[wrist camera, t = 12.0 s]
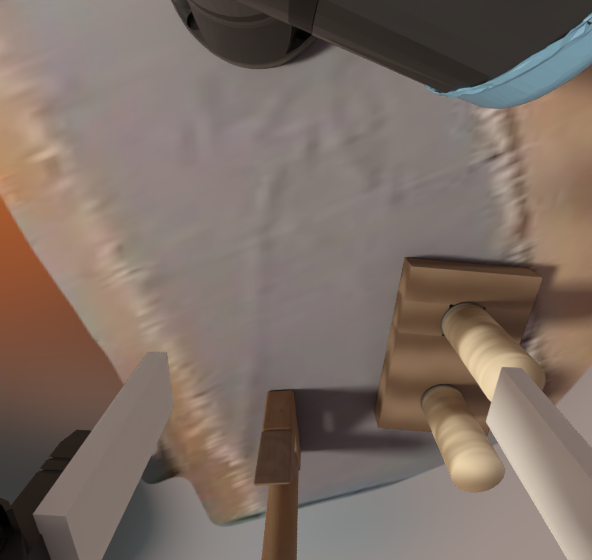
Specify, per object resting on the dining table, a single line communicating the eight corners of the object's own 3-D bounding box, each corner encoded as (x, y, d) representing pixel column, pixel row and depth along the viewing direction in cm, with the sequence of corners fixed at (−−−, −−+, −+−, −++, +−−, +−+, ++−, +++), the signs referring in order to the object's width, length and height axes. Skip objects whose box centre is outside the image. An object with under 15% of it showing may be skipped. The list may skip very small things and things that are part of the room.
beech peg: (429, 329, 45) (476, 405, 32) (438, 290, 43) (493, 356, 30) (471, 332, 45) (535, 410, 32) (482, 294, 43) (555, 361, 30)
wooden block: (294, 388, 49) (287, 520, 32) (301, 450, 53) (298, 595, 36) (266, 390, 49) (246, 522, 33) (275, 451, 53) (261, 597, 37)
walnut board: (404, 257, 42) (446, 310, 29) (527, 267, 42) (621, 325, 30) (374, 411, 50) (396, 504, 38) (476, 419, 50) (533, 515, 38)
